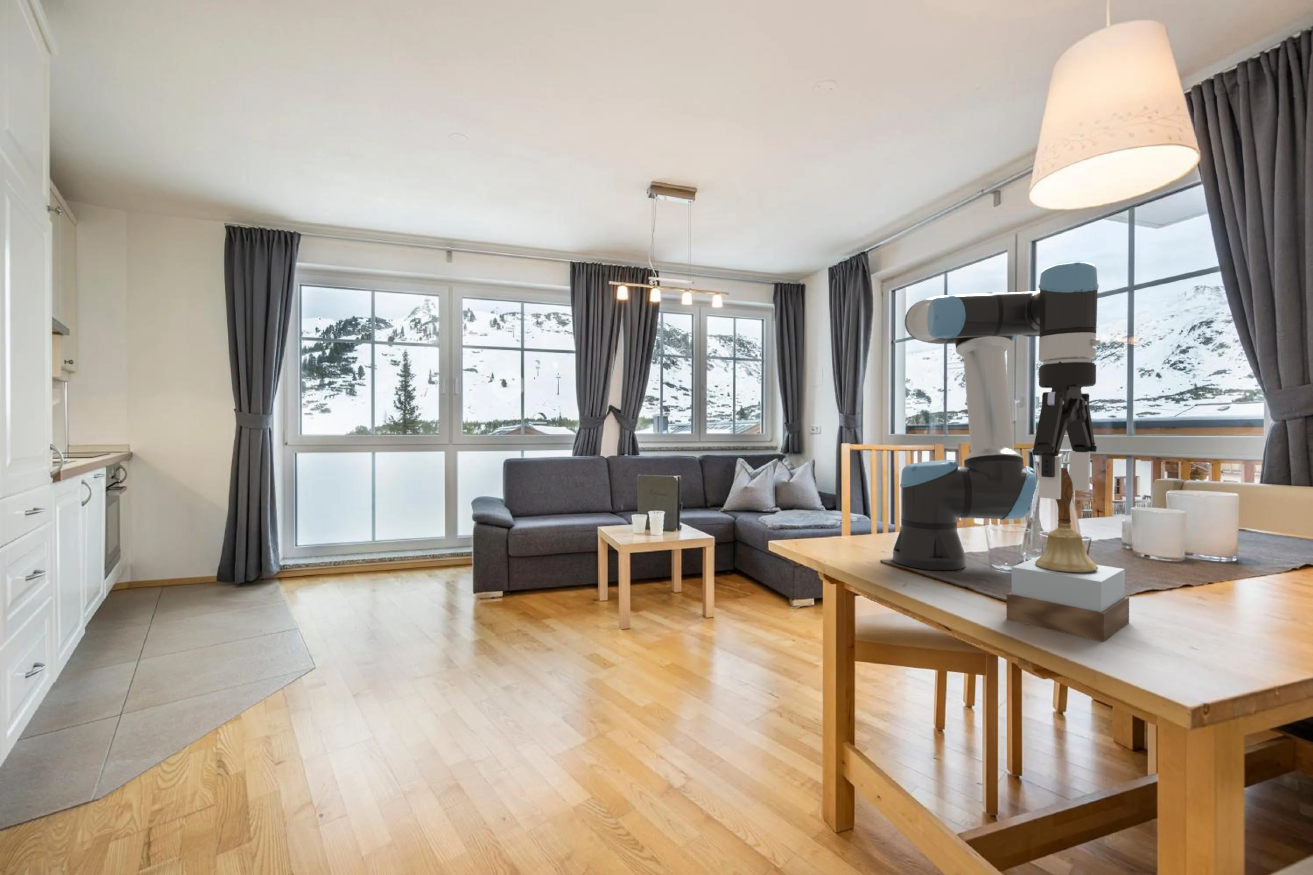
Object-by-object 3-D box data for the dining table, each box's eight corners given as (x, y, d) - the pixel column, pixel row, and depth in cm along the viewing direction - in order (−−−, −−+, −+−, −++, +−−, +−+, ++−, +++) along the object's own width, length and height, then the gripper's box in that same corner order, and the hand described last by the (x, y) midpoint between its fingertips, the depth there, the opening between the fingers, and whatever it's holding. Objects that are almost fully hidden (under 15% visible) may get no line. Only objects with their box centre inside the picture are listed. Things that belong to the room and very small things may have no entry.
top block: (1011, 594, 95) (1011, 566, 95) (1039, 581, 102) (1039, 556, 102) (1101, 612, 85) (1101, 581, 85) (1124, 596, 93) (1124, 568, 93)
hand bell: (1101, 564, 94) (1096, 465, 94) (1093, 575, 88) (1088, 470, 88) (1041, 558, 100) (1036, 465, 100) (1030, 568, 94) (1024, 470, 94)
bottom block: (1006, 621, 95) (1006, 593, 95) (1036, 605, 103) (1036, 580, 103) (1103, 644, 85) (1104, 613, 85) (1128, 625, 93) (1129, 597, 93)
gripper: (1067, 356, 83) (1065, 504, 83) (1118, 364, 98) (1116, 489, 99) (1009, 360, 88) (1008, 499, 89) (1066, 367, 104) (1064, 485, 105)
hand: (1065, 494), depth 94 cm, fingers open, 13 cm apart
